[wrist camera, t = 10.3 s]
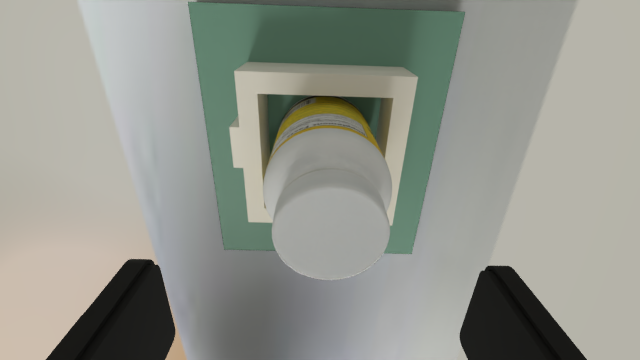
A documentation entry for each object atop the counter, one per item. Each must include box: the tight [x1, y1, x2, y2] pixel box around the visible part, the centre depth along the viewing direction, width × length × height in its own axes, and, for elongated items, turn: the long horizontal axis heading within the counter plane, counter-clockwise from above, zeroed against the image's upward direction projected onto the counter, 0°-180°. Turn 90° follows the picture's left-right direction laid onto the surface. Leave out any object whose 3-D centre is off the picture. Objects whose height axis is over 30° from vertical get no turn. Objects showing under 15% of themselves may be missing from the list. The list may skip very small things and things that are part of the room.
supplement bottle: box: [263, 95, 392, 280], centre depth 15 cm, size 5×5×10 cm
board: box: [188, 2, 465, 254], centre depth 19 cm, size 16×14×4 cm
